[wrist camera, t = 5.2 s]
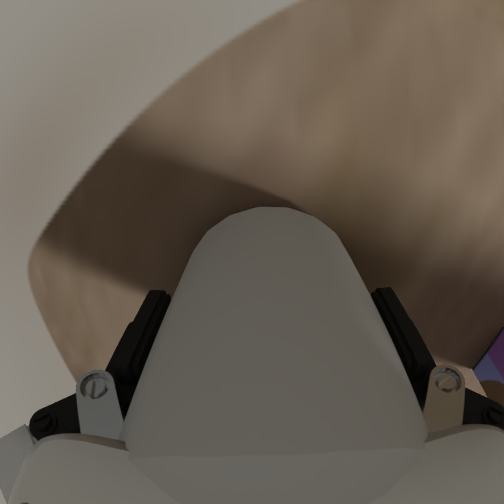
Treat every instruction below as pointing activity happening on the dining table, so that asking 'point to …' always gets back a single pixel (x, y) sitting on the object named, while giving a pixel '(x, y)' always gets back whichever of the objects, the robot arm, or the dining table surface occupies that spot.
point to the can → (273, 375)
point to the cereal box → (492, 369)
